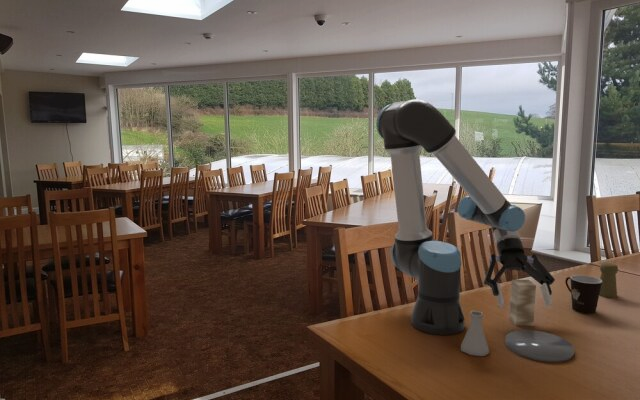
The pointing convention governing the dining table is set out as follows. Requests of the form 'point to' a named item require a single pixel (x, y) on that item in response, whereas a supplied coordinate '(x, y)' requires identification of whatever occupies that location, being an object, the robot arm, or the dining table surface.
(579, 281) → the coffee mug
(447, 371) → the dining table surface
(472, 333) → the flask
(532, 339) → the plate
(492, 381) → the dining table surface
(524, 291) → the birch block
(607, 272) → the cork
